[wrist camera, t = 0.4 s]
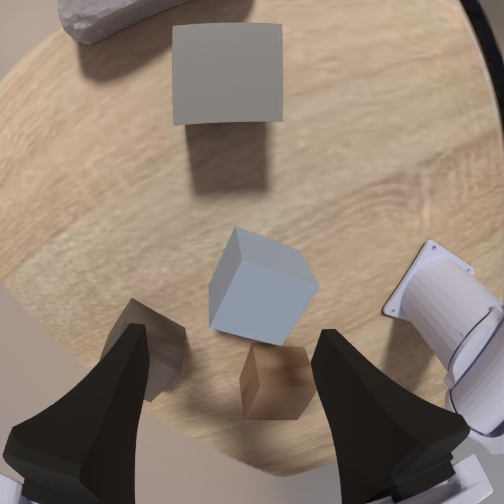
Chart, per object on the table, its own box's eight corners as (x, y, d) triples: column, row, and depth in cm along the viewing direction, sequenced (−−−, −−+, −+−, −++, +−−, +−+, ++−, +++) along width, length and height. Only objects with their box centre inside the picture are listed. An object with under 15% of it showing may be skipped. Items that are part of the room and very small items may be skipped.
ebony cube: (184, 327, 24) (181, 372, 19) (156, 359, 25) (150, 402, 21) (132, 297, 22) (117, 340, 17) (108, 333, 23) (94, 375, 19)
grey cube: (264, 45, 15) (281, 24, 11) (265, 119, 17) (282, 121, 13) (183, 47, 15) (172, 26, 10) (184, 122, 17) (173, 125, 12)
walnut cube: (304, 346, 26) (318, 387, 22) (286, 380, 28) (297, 419, 24) (252, 342, 25) (260, 386, 21) (239, 377, 27) (244, 419, 23)
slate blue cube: (298, 249, 22) (319, 286, 17) (268, 302, 24) (281, 345, 19) (235, 225, 20) (241, 260, 16) (209, 283, 22) (209, 327, 18)
